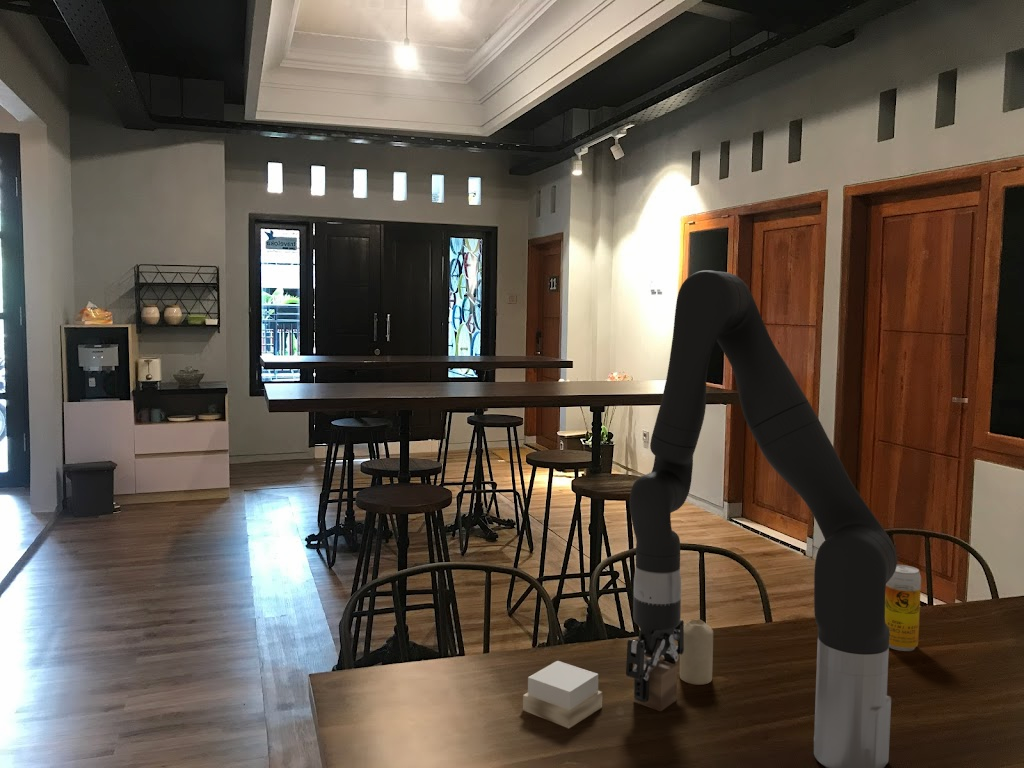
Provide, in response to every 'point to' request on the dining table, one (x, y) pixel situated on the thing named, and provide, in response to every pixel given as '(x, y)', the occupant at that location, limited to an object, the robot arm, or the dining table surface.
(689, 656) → the candle
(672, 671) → the walnut block
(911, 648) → the beer can
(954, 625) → the dining table surface
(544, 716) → the slab lower
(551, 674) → the slab upper
